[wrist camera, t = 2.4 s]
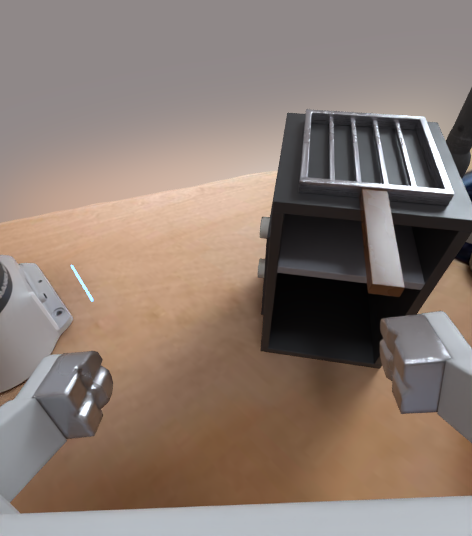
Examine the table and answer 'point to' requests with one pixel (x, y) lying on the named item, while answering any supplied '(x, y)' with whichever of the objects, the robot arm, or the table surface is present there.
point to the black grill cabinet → (350, 244)
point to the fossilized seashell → (470, 263)
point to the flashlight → (462, 137)
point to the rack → (378, 189)
